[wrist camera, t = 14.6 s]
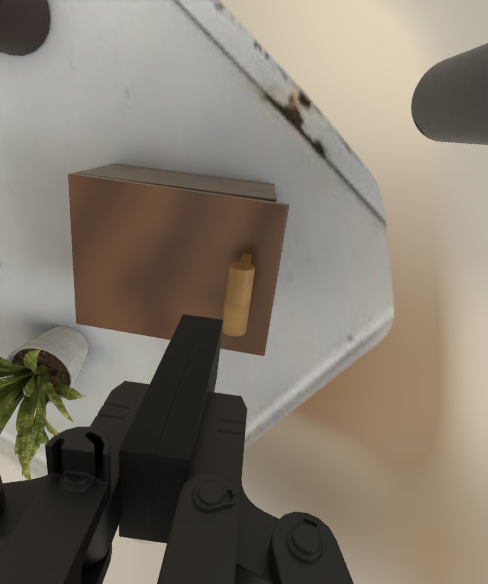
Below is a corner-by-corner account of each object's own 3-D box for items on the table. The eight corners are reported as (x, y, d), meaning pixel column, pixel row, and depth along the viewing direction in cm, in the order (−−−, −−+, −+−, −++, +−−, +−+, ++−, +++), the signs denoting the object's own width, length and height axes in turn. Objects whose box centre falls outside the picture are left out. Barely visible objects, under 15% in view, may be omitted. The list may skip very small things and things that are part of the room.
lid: (289, 203, 28) (287, 217, 24) (264, 351, 33) (259, 387, 29) (73, 172, 30) (31, 180, 25) (80, 319, 34) (46, 349, 30)
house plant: (-25, 342, 46) (-164, 444, 31) (31, 261, 42) (-99, 335, 27) (75, 409, 50) (-8, 531, 35) (138, 340, 45) (74, 446, 30)
